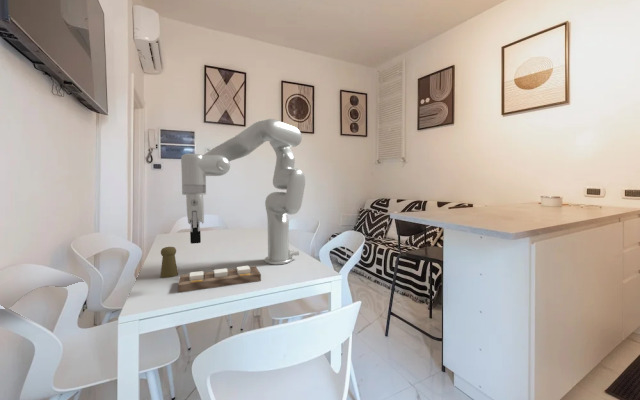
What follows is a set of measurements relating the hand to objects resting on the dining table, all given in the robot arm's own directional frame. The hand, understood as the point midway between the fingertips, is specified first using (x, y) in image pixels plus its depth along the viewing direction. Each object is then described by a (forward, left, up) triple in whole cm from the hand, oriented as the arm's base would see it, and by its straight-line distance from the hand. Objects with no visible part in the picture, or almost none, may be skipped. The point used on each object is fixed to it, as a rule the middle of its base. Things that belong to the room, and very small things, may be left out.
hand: (195, 242), depth 95 cm
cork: (+10, -15, -15) cm, 24 cm away
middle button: (-8, 0, -14) cm, 16 cm away
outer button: (0, 0, -14) cm, 14 cm away
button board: (-8, 0, -15) cm, 17 cm away
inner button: (-16, 0, -14) cm, 21 cm away
